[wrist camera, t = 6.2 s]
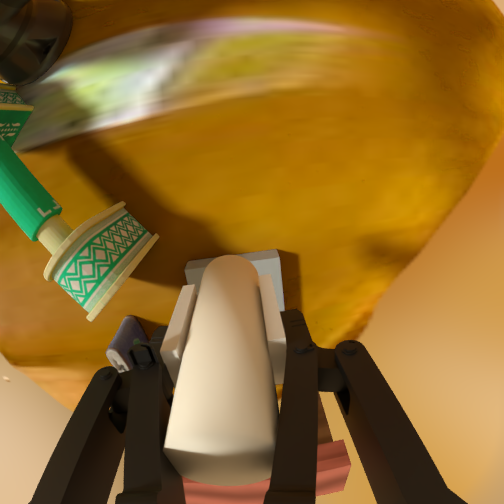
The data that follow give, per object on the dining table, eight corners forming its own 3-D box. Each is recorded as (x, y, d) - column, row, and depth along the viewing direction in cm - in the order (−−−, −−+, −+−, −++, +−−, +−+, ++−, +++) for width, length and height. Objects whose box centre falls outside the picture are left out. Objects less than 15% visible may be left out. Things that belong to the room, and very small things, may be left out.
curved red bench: (186, 335, 44) (156, 481, 20) (303, 320, 44) (351, 464, 20) (196, 368, 46) (179, 504, 23) (304, 355, 46) (343, 490, 23)
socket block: (188, 261, 40) (184, 270, 37) (276, 249, 40) (279, 257, 37) (211, 357, 46) (210, 370, 43) (285, 348, 46) (288, 360, 43)
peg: (197, 259, 20) (143, 431, 7) (255, 250, 20) (281, 425, 7) (208, 309, 22) (183, 486, 8) (262, 302, 22) (288, 480, 8)
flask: (122, 315, 42) (97, 358, 32) (138, 313, 42) (116, 357, 32) (141, 360, 46) (125, 405, 36) (157, 359, 46) (143, 405, 36)
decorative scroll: (160, 236, 39) (121, 286, 25) (125, 275, 40) (81, 335, 26) (15, 84, 29) (-50, 78, 15) (-9, 127, 30) (-73, 134, 16)
